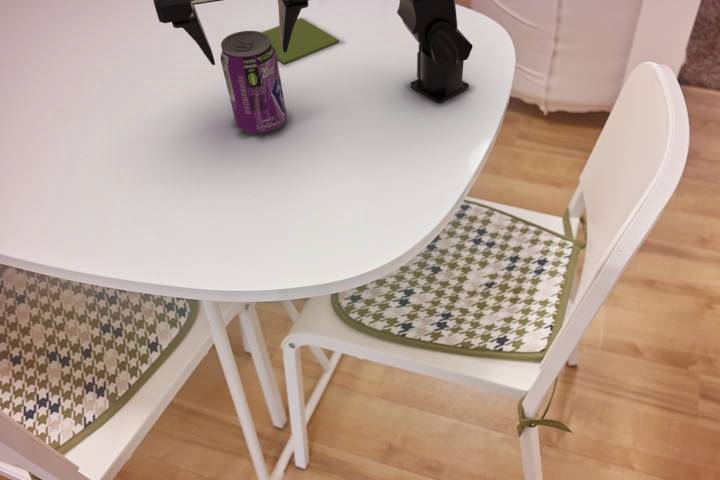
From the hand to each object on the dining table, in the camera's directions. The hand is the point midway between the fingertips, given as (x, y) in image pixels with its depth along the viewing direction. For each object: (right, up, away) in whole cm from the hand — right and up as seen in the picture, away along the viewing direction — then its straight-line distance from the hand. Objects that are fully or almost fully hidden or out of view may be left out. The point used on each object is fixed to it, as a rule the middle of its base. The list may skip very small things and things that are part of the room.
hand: (249, 57), depth 79 cm
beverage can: (0, -7, +7) cm, 10 cm away
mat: (+2, +11, +24) cm, 26 cm away
